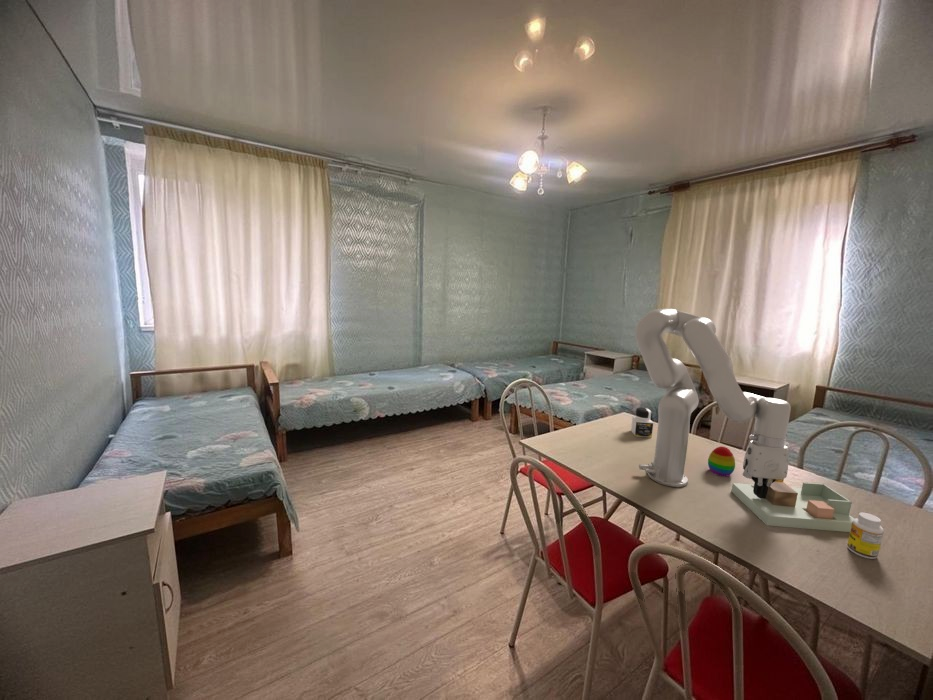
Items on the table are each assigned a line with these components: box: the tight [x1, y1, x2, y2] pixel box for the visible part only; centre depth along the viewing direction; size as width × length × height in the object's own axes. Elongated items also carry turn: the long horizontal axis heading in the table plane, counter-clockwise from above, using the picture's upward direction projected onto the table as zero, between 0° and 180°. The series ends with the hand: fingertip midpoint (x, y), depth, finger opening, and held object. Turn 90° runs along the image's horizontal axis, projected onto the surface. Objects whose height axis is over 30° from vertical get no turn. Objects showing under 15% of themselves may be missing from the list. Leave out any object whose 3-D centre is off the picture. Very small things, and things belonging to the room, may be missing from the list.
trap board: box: [731, 481, 855, 533], centre depth 116 cm, size 24×18×7 cm
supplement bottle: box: [847, 512, 885, 560], centre depth 98 cm, size 6×6×10 cm
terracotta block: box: [806, 500, 834, 519], centre depth 111 cm, size 4×4×6 cm
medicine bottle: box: [630, 407, 654, 439], centre depth 173 cm, size 7×7×12 cm
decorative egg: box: [707, 446, 736, 477], centre depth 139 cm, size 8×8×10 cm
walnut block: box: [766, 482, 798, 507], centre depth 117 cm, size 6×6×4 cm
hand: (759, 496), depth 117 cm, fingers closed
